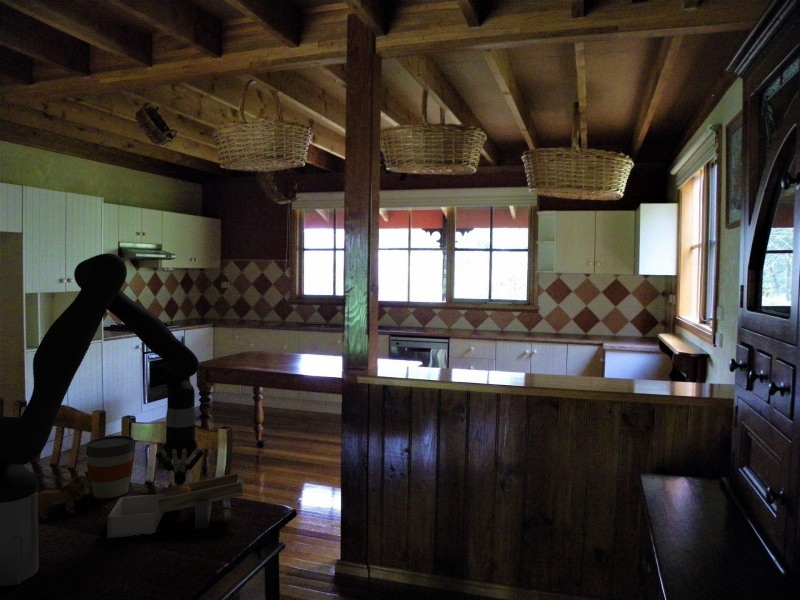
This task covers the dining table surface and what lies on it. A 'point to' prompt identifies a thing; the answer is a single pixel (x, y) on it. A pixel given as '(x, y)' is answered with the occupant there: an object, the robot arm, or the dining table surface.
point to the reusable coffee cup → (110, 465)
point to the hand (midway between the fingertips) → (180, 484)
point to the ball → (184, 490)
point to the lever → (202, 492)
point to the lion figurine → (63, 495)
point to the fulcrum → (202, 513)
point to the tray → (134, 516)
